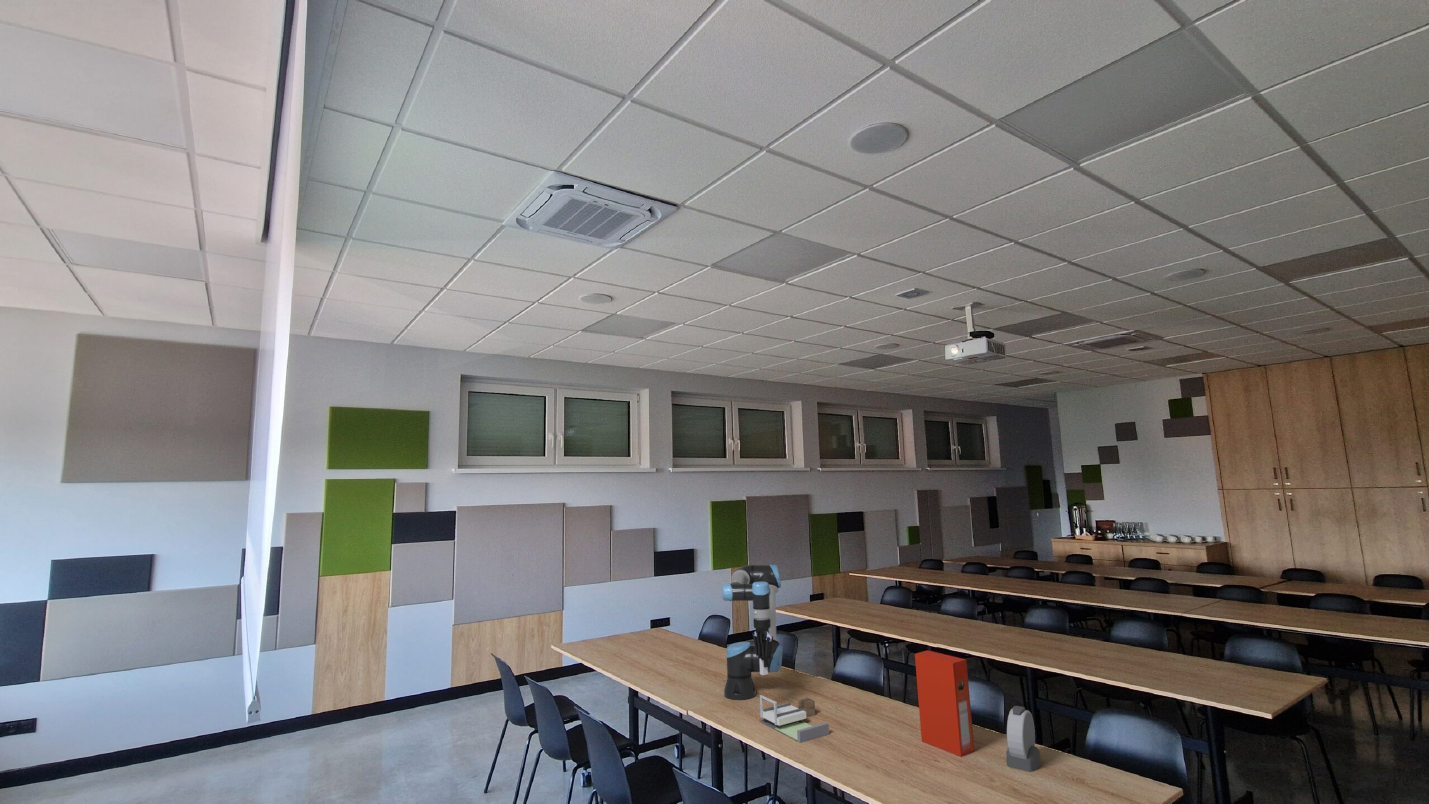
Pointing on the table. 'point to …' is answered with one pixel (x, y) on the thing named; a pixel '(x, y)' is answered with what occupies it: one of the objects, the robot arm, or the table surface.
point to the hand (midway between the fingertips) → (763, 674)
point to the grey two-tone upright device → (1021, 741)
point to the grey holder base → (800, 730)
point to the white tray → (781, 713)
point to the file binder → (944, 702)
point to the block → (807, 706)
